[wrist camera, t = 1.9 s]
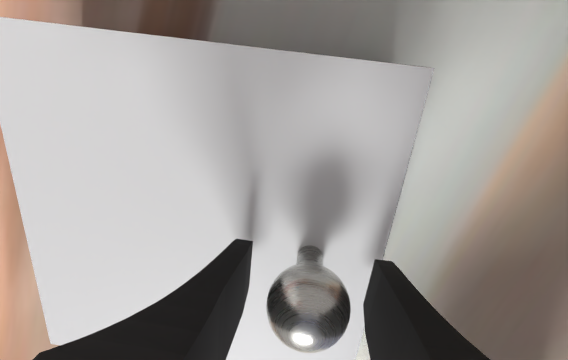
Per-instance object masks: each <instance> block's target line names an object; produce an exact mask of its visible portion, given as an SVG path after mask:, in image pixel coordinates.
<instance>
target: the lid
mask: <svg viewBox="0 0 568 360" xmlns="http://www.w3.org/2000/svg"><path fill="white" fill-rule="evenodd" d="M433 71H434V68H429V67H421V66H412V65H404V64H395V63H387V62H378V61H370V60H361V59H353V58H345V57H336V56H328V55H319V54H311V53H302V52H294V51H285V50H277V49H268V48H260V47H251V46H243V45H234V44H226V43H217V42H209V41H200V40H192V39H183V38H175V37H167V36H158V35H150V34H141V33H133V32H124V31H116V30H107V29H99V28H90V27H82V26H73V25H65V24H56V23H48V22H39V21H31V20H22V19H14V18H5V17H0V124H1V128H2V132H3V137H4V141H5V146H6V150H7V154H8V159H9V163H10V168H11V172H12V176H13V181H14V185H15V189H16V194H17V198H18V203H19V207H20V211H21V216H22V220H23V225H24V229H25V233H26V238H27V242H28V247H29V251H30V255H31V260H32V264H33V268H34V273H35V277H36V282H37V286H38V290H39V295H40V299H41V304H42V308H43V312H44V317H45V321H46V326H47V330H48V334H49V339H50V343H51V344H56V345H63V344H66V343H69V342H72V341H74V340H77V339H80V338H82V337H85V336H87V335H90V334H92V333H95V332H97V331H99V330H102V329H104V328H106V327H109V326H111V325H113V324H115V323H117V322H120V321H122V320H124V319H126V318H128V317H130V316H132V315H134V314H135V313H137V312H139V311H141V310H143V309H145V308H147V307H148V306H150V305H152V304H154V303H156V302H157V301H159V300H161V299H162V298H164V297H165V296H167V295H168V294H170V293H171V292H173V291H174V290H176V289H177V288H179V287H180V286H182V285H183V284H184V283H185V282H187V281H188V280H189V279H191V278H192V277H193V276H195V275H196V274H197V273H198V272H200V271H201V270H202V269H203V268H204V267H206V266H207V265H208V264H209V263H210V262H211V261H212V260H214V259H215V258H216V257H217V256H218V255H219V254H220V253H221V252H222V251H223V250H224V249H225V248H226V247H227V246H228V245H229V244H230V243H231V242H232V241H234V240H235V239H243V240H249V241H253V247H252V259H251V271H250V283H249V290H248V294H247V298H246V302H245V306H244V310H243V314H242V317H241V320H240V322H239V325H238V328H237V331H236V333H235V336H234V339H233V341H232V344H231V347H230V350H229V352H228V355H227V358H226V360H356V356H357V353H358V349H359V345H360V342H361V338H362V334H363V330H364V327H365V324H364V310H363V303H364V299H365V295H366V291H367V287H368V284H369V280H370V276H371V272H372V268H373V264H374V260H375V259H378V260H383V256H384V253H385V249H386V245H387V242H388V238H389V234H390V231H391V227H392V223H393V219H394V216H395V212H396V208H397V205H398V201H399V197H400V194H401V190H402V186H403V182H404V179H405V175H406V171H407V168H408V164H409V160H410V157H411V153H412V149H413V145H414V142H415V138H416V134H417V131H418V127H419V123H420V120H421V116H422V112H423V108H424V105H425V101H426V97H427V94H428V90H429V86H430V83H431V79H432V75H433Z"/></svg>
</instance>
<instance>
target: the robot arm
mask: <svg viewBox="0 0 568 360" xmlns="http://www.w3.org/2000/svg"><path fill="white" fill-rule="evenodd" d="M252 247H253V241H249V240H243V239H235V240H234V241H232V242H231V243H230V244H229V245H228V246H227V247H226V248H225V249H224V250H223V251H222V252H221V253H220V254H219V255H218V256H217V257H216V258H215V259H214V260H212V261H211V262H210V263H209V264H208V265H207V266H206V267H204V268H203V269H202V270H201V271H200V272H198V273H197V274H196V275H195V276H193V277H192V278H191V279H189V280H188V281H187V282H185V283H184V284H183V285H182V286H180V287H179V288H177V289H176V290H174V291H173V292H171V293H170V294H168V295H167V296H165V297H164V298H162V299H161V300H159V301H157V302H156V303H154V304H152V305H150V306H148V307H147V308H145V309H143V310H141V311H139V312H137V313H135V314H134V315H132V316H130V317H128V318H126V319H124V320H122V321H120V322H117V323H115V324H113V325H111V326H109V327H106V328H104V329H102V330H99V331H97V332H95V333H92V334H90V335H87V336H85V337H82V338H80V339H77V340H74V341H72V342H69V343H66V344H63V345H61V346H58V347H55V348H52V349H50V350H47V351H44V352H41V353H39V354H38V355H37V356H36V357H35V358H34V359H33V360H226V358H227V355H228V352H229V350H230V347H231V344H232V341H233V339H234V336H235V333H236V331H237V328H238V325H239V322H240V320H241V317H242V314H243V310H244V306H245V302H246V298H247V294H248V290H249V283H250V271H251V259H252ZM363 310H364V324H365V334H366V339H367V344H368V349H369V354H370V359H371V360H490V359H489V358H487V357H486V356H485V355H484V354H483V353H481V352H480V351H479V350H478V349H477V348H476V347H474V346H473V345H472V344H471V343H470V342H469V341H468V340H466V339H465V338H464V337H463V336H462V335H461V334H460V333H459V332H458V331H456V330H455V329H454V328H453V327H452V326H451V325H450V324H449V323H448V322H447V321H446V320H445V319H444V318H443V317H442V316H441V315H440V314H439V313H438V312H437V311H436V310H435V309H434V308H433V307H432V306H431V304H430V303H429V302H428V301H427V300H426V299H425V298H424V297H423V296H422V295H421V294H420V292H419V291H418V290H417V289H416V288H415V287H414V286H413V284H412V283H411V282H410V281H409V280H408V279H407V278H406V276H405V275H404V274H403V273H402V272H401V271H400V269H399V268H398V267H397V266H396V265H395V264H394V263H393V262H391V261H385V260H378V259H375V260H374V264H373V268H372V272H371V276H370V280H369V284H368V287H367V291H366V295H365V299H364V303H363Z"/></svg>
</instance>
